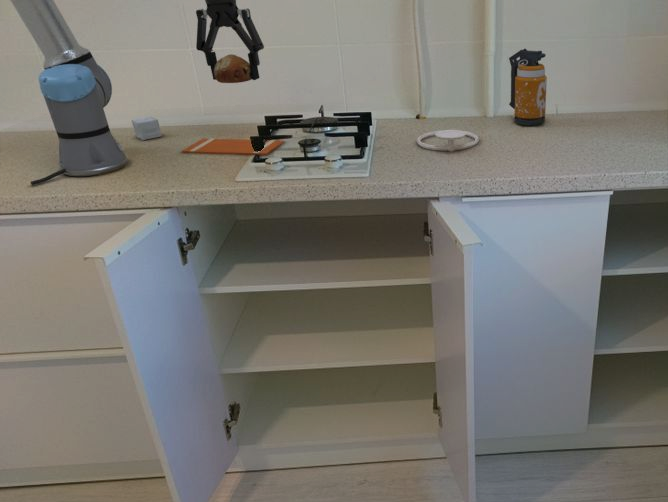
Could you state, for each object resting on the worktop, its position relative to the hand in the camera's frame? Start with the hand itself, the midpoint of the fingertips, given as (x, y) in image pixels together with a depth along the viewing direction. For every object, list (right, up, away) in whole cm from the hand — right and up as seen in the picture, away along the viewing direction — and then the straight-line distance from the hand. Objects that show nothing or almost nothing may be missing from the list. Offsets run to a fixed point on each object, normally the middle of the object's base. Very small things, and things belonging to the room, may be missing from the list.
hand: (236, 78), depth 180 cm
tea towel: (-1, -18, +2) cm, 18 cm away
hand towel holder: (+57, -18, 0) cm, 60 cm away
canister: (+80, -6, +17) cm, 82 cm away
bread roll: (0, 0, 0) cm, 0 cm away
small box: (-30, -12, +13) cm, 34 cm away
